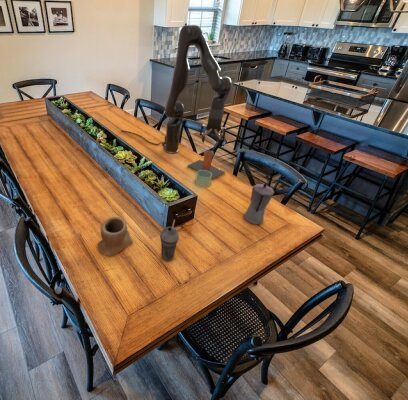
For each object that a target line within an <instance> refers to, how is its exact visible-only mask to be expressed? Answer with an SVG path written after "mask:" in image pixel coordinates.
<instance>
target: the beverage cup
mask: <svg viewBox="0 0 408 400" xmlns="http://www.w3.org/2000/svg"><path fill="white" fill-rule="evenodd" d="M172 221H173V222H172V226H165V227H164V228H163V229H162V230H161V232H160V235H159V238H160V243H161V245H160V246H161V249H160V250H161V258H162V260H163V261H164V262H171V261H172V260H174V256H175V252H176V248H177V244H178V242H179V239H180V236H179V235H180V233H179V232H178V230H177V229H176V228H175V227H174V226H175V223H176V219H173V220H172Z"/></svg>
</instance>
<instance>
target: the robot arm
mask: <svg viewBox="0 0 408 400" xmlns="http://www.w3.org/2000/svg"><path fill="white" fill-rule="evenodd" d="M192 46H194V47H195V48H196V49H197V51H198V52H199V56H200V65H201V67H202V69H203V71H204V72H205V74H206V76H207V78H208V81H209V85H210V87H211V90H212V91H213V92H215V93H216V95H214V96H212V99H211V103H210V104H211V105H210V109H209V112H208V119H207V124H204V123H202V124H201V127H200V131H199V136H201V137H202V138H201V143H202V144H205V140H206V136H208V135H214V136H215V135H216V136H217V137H218V139H217V143H216V144H217V146H219V145H220V144H221V142H222V140H223V139H225V138H226V131H227V127H226V126H224V127H222V122H223V118H224V112H225V107H226V106H225V105H226V101H227V99H228V97H229V94H230V92H231V90H232V79H231V78H230V77H229V76H220V74H221V67H220V65H219V64H218V62H217V60H216V59H215V58H214V55H213V54H212V52H211V49H210V47H209V45H208V42H207V40H206V37H205V35H204V32H203V31H202V29H201V27H200V26H199V25H197V24H188V25H187V24H186V25H185V24H184V25H183V26H182V27H181V28H180V30H179V34H178V40H177V49H176V57H175V63H174V68H173V74H172V78H171V84H170V89H169V93H168V96H167V99H166V103H165V107H164V113H165V116H166V117H167V118H169V120H167V122H166V129H165V130H166V131H165V136H164V141H162V142H159V143H154V142H152V141H149V140H148V139H146V138H145V137H143V136H142V135H140V134H138V133H135V132H131V131H128V130H120V131H121V132H124V133H128V134H132V135H136V136H138V137H140V138H141V139H143V140H144V141H145V142H147V143H149V144H151V145H154V146H155V145H156V146H159V145H161V146H162V147H163V150H164V151H165V152H166V153H169V154H176V153H178V152H179V146H180V135H181V126H182V124H183V119H184V112H185V108H184V107H185V106H184V104H183V102H182V101H180V100H178V99H179V96H180V95H181V94H182V92H183V91H184V90H185V88H186V87H187V84H188V82H189V79H190V73H191V70H190V65H189V62H188V61H189V60H188V53H189V48H190V47H192ZM205 129H206V130H205ZM204 130H205V131H204ZM203 131H204V132H203ZM220 131H221V132H222V135H221V132H220Z"/></svg>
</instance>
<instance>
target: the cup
mask: <svg viewBox="0 0 408 400" xmlns="http://www.w3.org/2000/svg"><path fill="white" fill-rule="evenodd" d="M211 178H212V173H211V172H210V171H207V170H199V171H196V175H195V181H194V182H195V184H196V185H197V186H199V187H203V188H206V187H209V186H210V185H211V182H212V179H211Z"/></svg>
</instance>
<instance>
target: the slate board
mask: <svg viewBox="0 0 408 400" xmlns="http://www.w3.org/2000/svg"><path fill="white" fill-rule="evenodd" d="M202 166H203V160H201V159H198V160H196V161H194V162H191V163H189V164H187V167H188V168H190V169H191V170H193V171H195V172H197V171H199V170H203V169H202ZM208 171H210V172H211V173H212V178H211V181H213V180H216V179H217V178H219V177H221V176H222V175H224V174H225V173H226V171H225V170H222V169H220V168H218V167H216V166H214V165H213V164H211V168H210V170H208Z"/></svg>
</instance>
